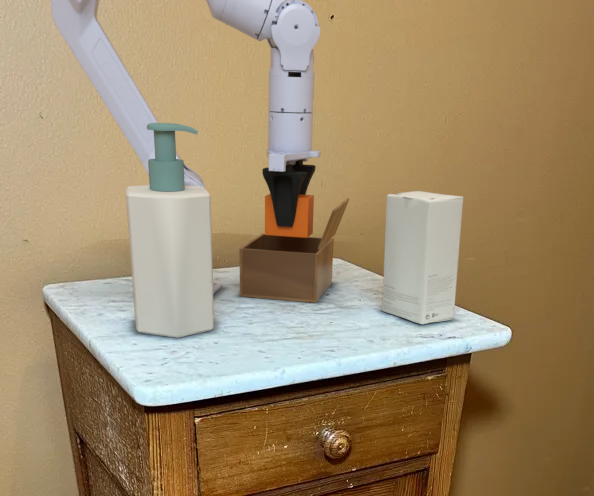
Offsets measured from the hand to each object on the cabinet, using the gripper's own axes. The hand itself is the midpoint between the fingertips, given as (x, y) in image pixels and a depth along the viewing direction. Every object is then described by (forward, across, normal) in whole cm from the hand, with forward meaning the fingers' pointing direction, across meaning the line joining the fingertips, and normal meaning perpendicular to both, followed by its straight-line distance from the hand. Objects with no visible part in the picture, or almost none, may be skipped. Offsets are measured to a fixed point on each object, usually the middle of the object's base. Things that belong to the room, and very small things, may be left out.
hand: (288, 223), depth 106 cm
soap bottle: (+9, -21, +9) cm, 25 cm away
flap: (0, +1, -6) cm, 6 cm away
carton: (+9, +1, 0) cm, 9 cm away
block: (+1, 0, 0) cm, 1 cm away
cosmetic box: (+9, -7, -19) cm, 22 cm away
